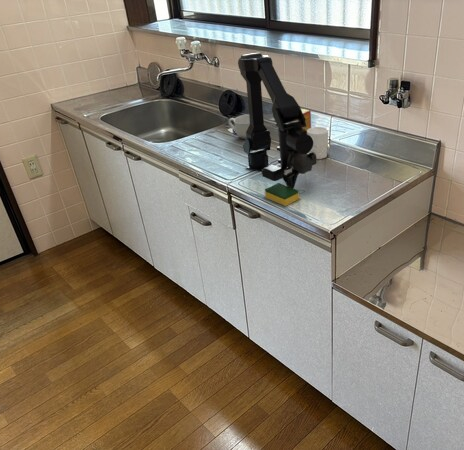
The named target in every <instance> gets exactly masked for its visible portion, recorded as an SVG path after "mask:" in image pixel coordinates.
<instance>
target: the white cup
mask: <svg viewBox="0 0 464 450" xmlns="http://www.w3.org/2000/svg"><path fill="white" fill-rule="evenodd" d="M307 134H308V135H309V136H311V138H312V139H313V147H312V149H311V150H310V153H311V152H314V153H315V154H316V159H317V160H321V159H322V160H323V159H325V158H327V157H328V146H329V129H328V128H327V127H324V126H315V127H314V126H311V128H309V129H308V130H307Z"/></svg>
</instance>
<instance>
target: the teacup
mask: <svg viewBox="0 0 464 450" xmlns="http://www.w3.org/2000/svg"><path fill="white" fill-rule="evenodd" d="M232 121H233V123H234V124H233V123H232ZM227 122H228V126H229V127H230V128H232V129H233V130H234V131H235V133H236V135H237V136H238V137H240V138H241V139H243V140H245V139H246V131H247V129H248V127H249V125H250V119H249V113H248V114H242V115H238V116H236V117H230V118H229V119H228V121H227Z"/></svg>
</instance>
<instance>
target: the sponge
mask: <svg viewBox="0 0 464 450" xmlns="http://www.w3.org/2000/svg"><path fill="white" fill-rule="evenodd" d="M264 195H265V199H267V200H270V201H273V202H275V203H277V204H279V205H281V206H284V207H286V206H288V205H290V204H292V203H294V202H296V201H298V200H300V194H299V190H298V189H295V188H294V189H293V188H290V187H288V186H287V185H286V184H283V183H280V182H277V183H275V184H273V185H272V186H269V187H266V188H265V189H264Z"/></svg>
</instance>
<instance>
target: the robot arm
mask: <svg viewBox="0 0 464 450" xmlns="http://www.w3.org/2000/svg"><path fill="white" fill-rule="evenodd" d="M273 63H274V62H273V59H272V58H271V56H269V55H263V54H262V53H261V52H254V53H253V52H252V53H247V54H242V55H240V57H239V58H238V60H237V66H238V69H239V72H240V76H242V78H243V80H244V81H245V83H246V96H247V106H248V114H249V119H250V125H249V127H248V129H247V131H246V139H244V142H243V144H242V150H243V152H244V153H245V154H246V155H247V161H248V165H247V166H246V169H247V170H252V171H258V172H261V176H262V178H265V179H267V180H269V181H272V182H277V181H279V180H281V179H282V180H283V182H284V184H285V186H288V187H290V188H293V189H295V185H296V182H297V180H298V177H299V174H300V175H305V174H306V173H308V172H311V171H312V170H313V166H315V165H316V164H317V160H318V159H316V154H315V153H314V152H311V153H310V150H311V149H312V147H313V139H312V138H311V136H309V135H308V134H307V131H306V130H305V129H302V127H305V126H306V123H305V121H306V119H305V117H304V115H303V113H302V111H301V109H302V108H301V106H300V104H299V103H298V102H297V100H296V99H295V96H292V95H290V94H289V93H287V90H286V88H285V87H284V85H283V83H282V81H281V79H280V77H279V75H278V73H277V71H276V69H275V67H274V64H273ZM262 83H263V86H264V87H265V90H266V92H267V94H268V96H269V98H270V101H271V102H272V105H271V112H272V116H273V120H274V121H275V123H276V124H275V127H277V128H278V130H277V131H278V141H279V142H278V146H276V151H278V152H279V158H278V159H277V163H278V164H280V165H279V166H278V165H274V164H271V163H270V162H269V155H268V151H271V148H272V147H271V146H272V137H271V132H270V130H269V129H268V128H267V127H266V125H265V120H264V119H265V118H264V106H263V105H264V104H263V89H262ZM297 120H299V121H298V122H294V123H289V122H292V121H297Z"/></svg>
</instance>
